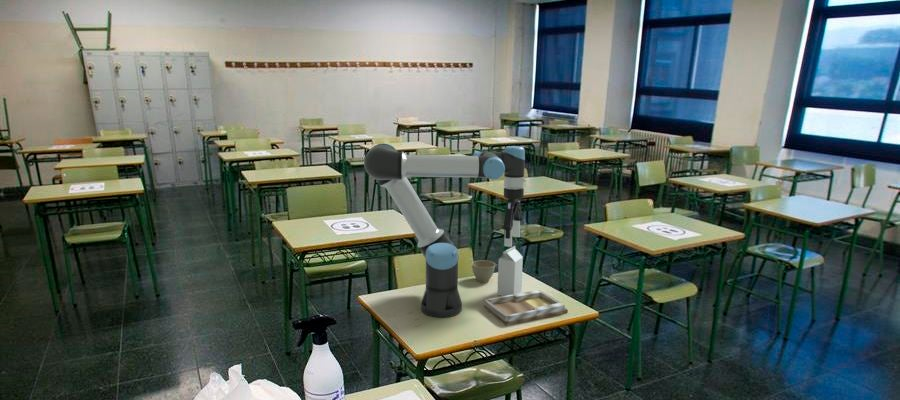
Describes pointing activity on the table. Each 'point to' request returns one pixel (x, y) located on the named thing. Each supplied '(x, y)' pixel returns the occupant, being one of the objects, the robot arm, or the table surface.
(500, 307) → the divided compartment tray
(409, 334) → the table surface
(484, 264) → the flower pot
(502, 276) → the milk carton
